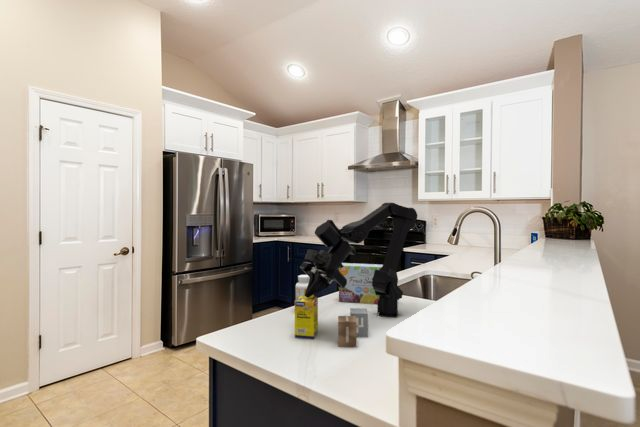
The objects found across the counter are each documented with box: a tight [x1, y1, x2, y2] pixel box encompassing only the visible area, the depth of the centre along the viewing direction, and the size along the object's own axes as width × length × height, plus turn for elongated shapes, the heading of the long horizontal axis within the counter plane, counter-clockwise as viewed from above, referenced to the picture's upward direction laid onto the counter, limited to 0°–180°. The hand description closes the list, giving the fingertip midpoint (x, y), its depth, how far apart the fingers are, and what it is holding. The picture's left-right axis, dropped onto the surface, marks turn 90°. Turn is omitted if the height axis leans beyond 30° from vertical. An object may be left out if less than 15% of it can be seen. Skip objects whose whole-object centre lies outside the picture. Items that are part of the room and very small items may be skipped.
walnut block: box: [337, 315, 357, 348], centre depth 98 cm, size 5×5×7 cm
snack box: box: [338, 262, 383, 305], centre depth 138 cm, size 21×6×15 cm, turn 77°
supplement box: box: [294, 296, 319, 340], centre depth 104 cm, size 6×6×11 cm
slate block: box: [349, 307, 369, 338], centre depth 105 cm, size 5×5×7 cm
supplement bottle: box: [295, 274, 315, 301], centre depth 127 cm, size 7×7×13 cm
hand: (306, 296), depth 104 cm, fingers closed
